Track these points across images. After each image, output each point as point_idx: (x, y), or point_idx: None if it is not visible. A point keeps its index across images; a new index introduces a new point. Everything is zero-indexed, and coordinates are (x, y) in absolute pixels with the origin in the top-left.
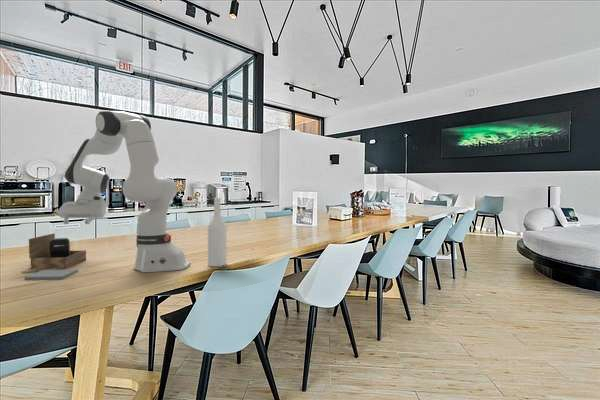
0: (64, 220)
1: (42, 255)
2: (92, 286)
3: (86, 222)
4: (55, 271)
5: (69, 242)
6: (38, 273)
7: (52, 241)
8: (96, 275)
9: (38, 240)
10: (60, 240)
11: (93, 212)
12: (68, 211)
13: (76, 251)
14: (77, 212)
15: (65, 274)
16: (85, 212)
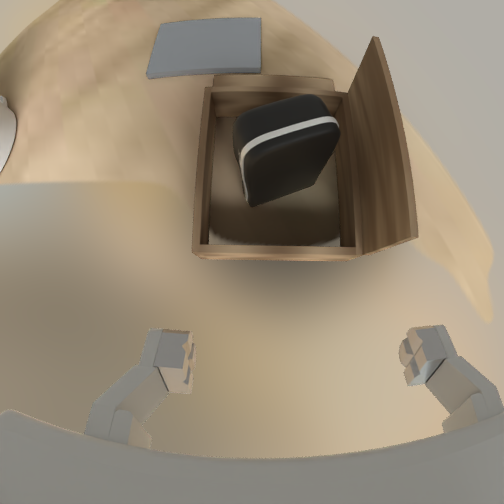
0: (446, 342)
1: (348, 148)
2: (88, 12)
3: (169, 330)
4: (206, 53)
5: (241, 157)
6: (245, 39)
7: (306, 94)
8: (91, 60)
9: (379, 94)
10: (269, 104)
11: (64, 446)
12: (497, 448)
13: (241, 245)
14: (362, 471)
15: (160, 34)
16: (203, 476)
